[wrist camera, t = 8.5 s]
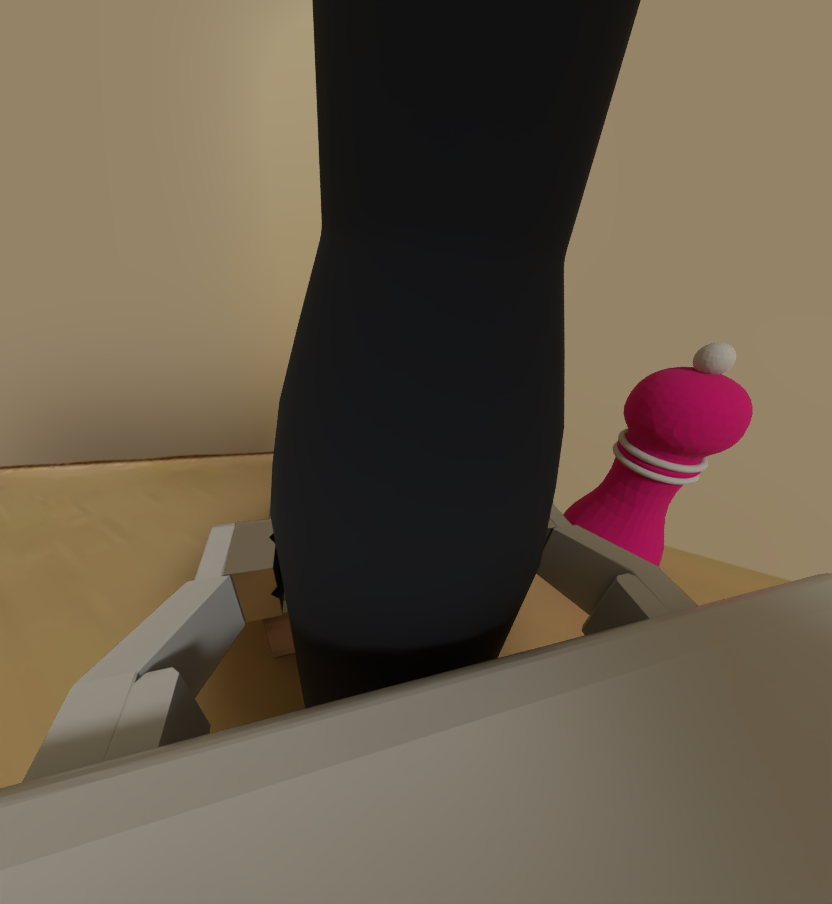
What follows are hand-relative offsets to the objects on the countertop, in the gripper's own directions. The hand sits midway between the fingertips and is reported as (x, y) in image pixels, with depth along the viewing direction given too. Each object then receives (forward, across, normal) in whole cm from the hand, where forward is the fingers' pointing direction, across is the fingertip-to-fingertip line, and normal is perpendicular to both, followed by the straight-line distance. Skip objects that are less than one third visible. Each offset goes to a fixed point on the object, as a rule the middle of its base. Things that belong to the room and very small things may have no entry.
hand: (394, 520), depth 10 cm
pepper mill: (+6, -19, +16) cm, 26 cm away
